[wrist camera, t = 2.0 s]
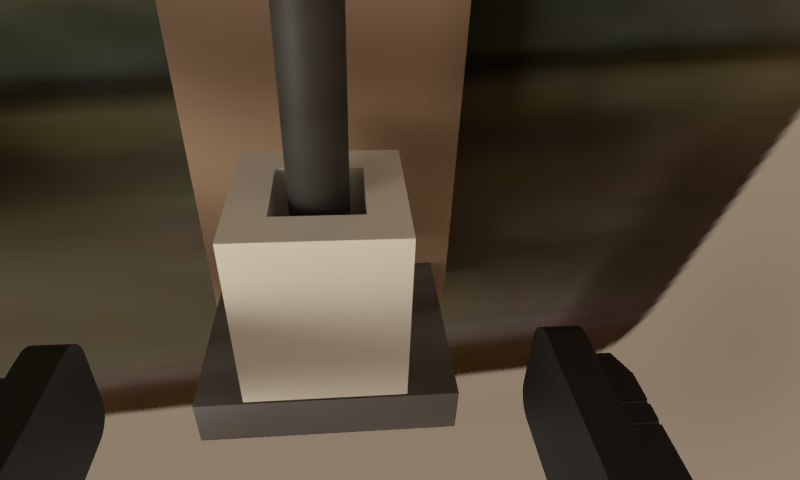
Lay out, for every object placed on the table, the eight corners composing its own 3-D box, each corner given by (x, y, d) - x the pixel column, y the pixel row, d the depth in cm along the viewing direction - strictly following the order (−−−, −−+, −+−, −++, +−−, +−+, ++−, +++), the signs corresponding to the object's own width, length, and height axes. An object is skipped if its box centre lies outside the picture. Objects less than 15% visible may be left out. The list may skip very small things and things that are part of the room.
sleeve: (240, 152, 12) (212, 244, 10) (398, 150, 13) (415, 238, 10) (260, 294, 15) (242, 402, 12) (394, 289, 15) (407, 394, 12)
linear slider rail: (73, -545, 9) (-284, -1058, 4) (500, -507, 10) (694, -904, 5) (224, 279, 19) (181, 456, 14) (436, 273, 20) (473, 438, 14)
